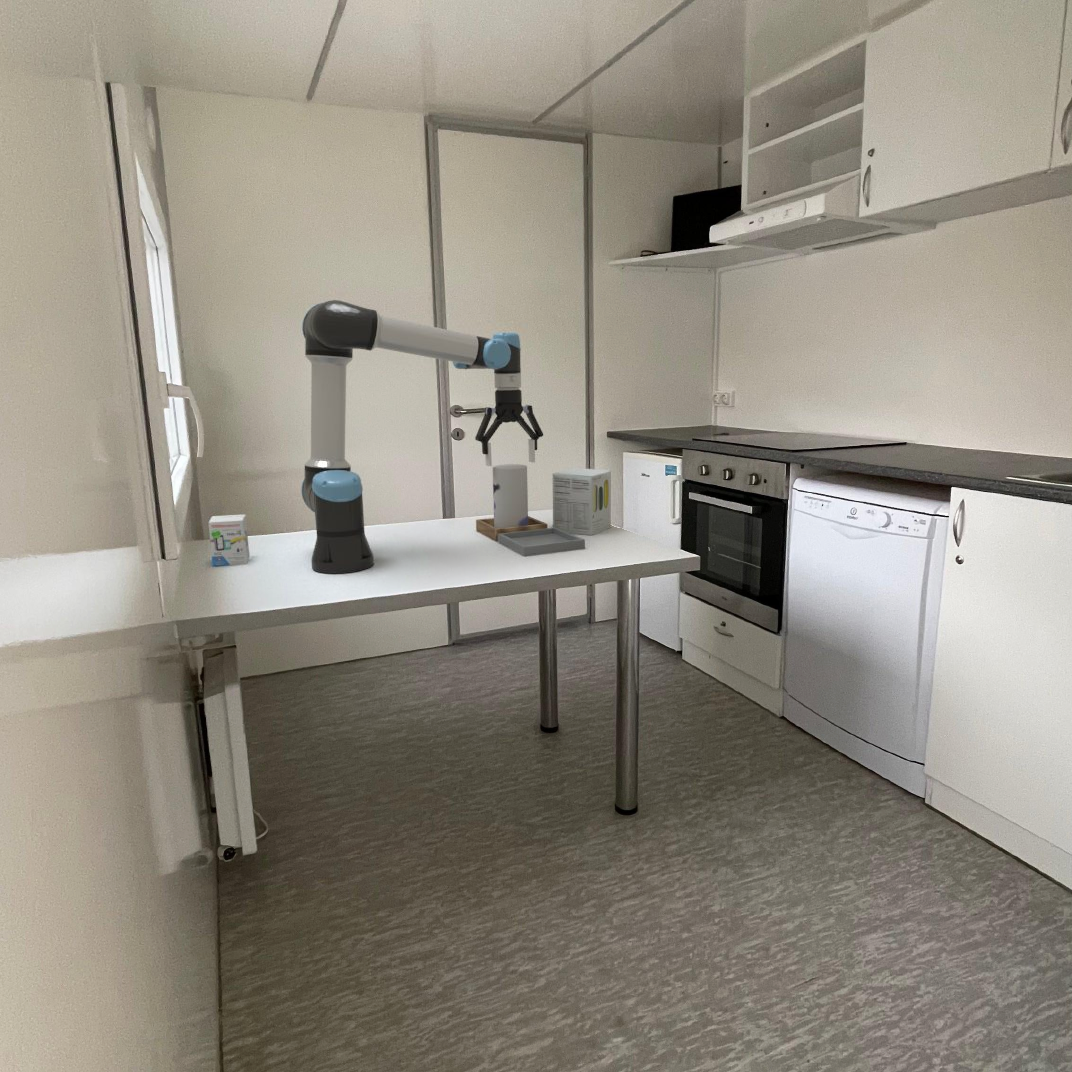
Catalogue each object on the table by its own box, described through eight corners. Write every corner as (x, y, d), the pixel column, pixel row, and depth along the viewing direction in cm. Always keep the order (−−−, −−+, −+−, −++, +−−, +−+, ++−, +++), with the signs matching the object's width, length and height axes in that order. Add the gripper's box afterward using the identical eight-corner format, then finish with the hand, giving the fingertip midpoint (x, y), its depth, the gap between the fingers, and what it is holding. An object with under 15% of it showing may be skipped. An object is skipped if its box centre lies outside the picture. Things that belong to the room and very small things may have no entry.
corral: (496, 541, 219) (496, 529, 218) (476, 531, 233) (475, 519, 232) (547, 535, 225) (547, 523, 225) (525, 525, 239) (524, 514, 239)
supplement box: (591, 536, 224) (591, 475, 221) (552, 531, 231) (551, 473, 227) (611, 527, 235) (612, 470, 232) (573, 523, 242) (573, 467, 238)
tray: (523, 556, 202) (523, 547, 201) (497, 542, 218) (497, 533, 217) (585, 548, 209) (584, 539, 209) (555, 535, 225) (555, 527, 225)
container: (490, 531, 232) (488, 464, 228) (522, 528, 235) (521, 462, 231) (499, 538, 223) (497, 469, 219) (532, 535, 226) (531, 467, 221)
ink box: (211, 566, 197) (206, 521, 194) (216, 558, 205) (211, 515, 202) (247, 564, 199) (243, 519, 197) (250, 556, 207) (246, 513, 205)
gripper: (471, 391, 212) (474, 468, 216) (553, 387, 222) (555, 461, 226) (462, 390, 218) (465, 465, 223) (542, 386, 228) (543, 458, 233)
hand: (510, 463), depth 225 cm, fingers open, 13 cm apart
